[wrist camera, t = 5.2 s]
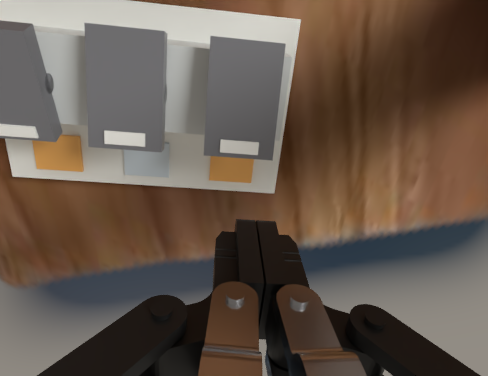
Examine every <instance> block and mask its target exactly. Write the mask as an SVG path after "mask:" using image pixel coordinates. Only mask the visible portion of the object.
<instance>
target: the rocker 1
mask: <svg viewBox="0 0 488 376" xmlns="http://www.w3.org/2000/svg"><path fill="white" fill-rule="evenodd" d="M53 88H54V82H53V78H52V76H51V74H49V73H46V70H45V66H44V63H43V59H42V55H41V52H40V48H39V44H38V41H37V37H36V34H35V30H34V26H33V24H31V23H21V22H11V21H2V20H0V138H7V139H20V140H34V141H47V142H57V140H58V138H59V137H60V135H61V134H62V132H63V131H62V128H61V124H60V121H59V117H58V113H57V110H56V106H55V102H54V99H53V95H52V91H53Z"/></svg>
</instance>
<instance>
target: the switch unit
mask: <svg viewBox="0 0 488 376" xmlns="http://www.w3.org/2000/svg"><path fill="white" fill-rule="evenodd" d="M0 20H2V21H11V22H21V23H31V24H33V26H34V30H35V34H36V37H37V41H38V44H39V48H40V52H41V55H42V59H43V63H44V66H45V70H46V73H49V74H51V76H52V78H53V82H54V88H53V91H52V95H53V99H54V102H55V106H56V110H57V113H58V117H59V121H60V124H61V128H62V131H63V132H62V134H61V135H60V137H59V138H58V140H57V142H47V141H34V140H20V139H7V138H5V141H6V146H7V151H8V156H9V161H10V166H11V171H12V176H13V177H27V178H42V179H58V180H73V181H89V182H104V183H119V184H135V185H150V186H166V187H181V188H197V189H212V190H228V191H243V192H259V193H274V192H275V186H276V179H277V173H278V166H279V160H280V153H281V147H282V140H283V134H284V127H285V121H286V114H287V108H288V101H289V95H290V88H291V82H292V75H293V68H294V62H295V55H296V49H297V42H298V36H299V29H300V23H301V20H300V19H291V18H282V17H273V16H264V15H255V14H246V13H237V12H228V11H219V10H210V9H201V8H192V7H183V6H174V5H165V4H156V3H147V2H138V1H129V0H0ZM84 23H92V24H102V25H112V26H121V27H131V28H140V29H150V30H160V31H165V32H166V33H167V69H166V84H167V101H166V106H165V143H164V150H163V151H162V152H149V151H136V150H122V149H108V148H95V147H88V118H87V87H86V57H85V26H84ZM210 36H217V37H227V38H236V39H246V40H256V41H265V42H275V43H284V44H286V46H285V55H284V64H283V72H282V81H281V90H280V99H279V108H278V117H277V126H276V134H275V143H274V152H273V161H272V160H258V159H245V158H231V157H218V156H204V139H205V122H206V104H207V87H208V70H209V53H210Z"/></svg>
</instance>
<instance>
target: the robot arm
mask: <svg viewBox="0 0 488 376" xmlns="http://www.w3.org/2000/svg"><path fill="white" fill-rule="evenodd" d="M259 339H266V344H267V350H266V355H265V365H266V370H267V375H268V376H384V375H382V374H383V372H384V369H385V370H387V371H388V372H389V373H391V374H392V375H393V376H480V375H479V374H477V373H475V372H474V371H473V370H471V369H470V368H468V367H467V366H465V365H464V364H463V363H461V362H460V361H458V360H457V359H455V358H454V357H452V356H451V355H449V354H448V353H446V352H445V351H443V350H442V349H441V348H439V347H438V346H436V345H435V344H433V343H432V342H430V341H429V340H427V339H426V338H424V337H423V336H421V335H420V334H418V333H417V332H415V331H414V330H412V329H411V328H410V327H408V326H407V325H405V324H404V323H402V322H401V321H399V320H398V319H396V318H395V317H394V316H392V315H391V314H389V313H388V312H386V311H385V310H383V309H381V308H379V307H376V306H373V305H368V304H363V305H357V306H355V307H354V308H353V309H352V310H351V312H350V314H348V313H345V312H342V311H338V310H335V309H332V308H329V307H327V306H325V305H323V304H322V301H321V299H320V297H319V296H318V294H316V293H315V292H314V291H313V290H311V289H310V288H309V284H308V281H307V278H306V274H305V271H304V268H303V265H302V262H301V258H300V255H299V251H298V248H297V245H296V243H295V242H294V241H293V240H292V239H291V237H290V236H289V235H279V234H278V230H277V226H276V222H275V221H259V220H256V222H255V220H241V219H236V223H235V232H224V231H222V232H221V233H220V235H219V236H218V237H217V238H216V246H215V258H214V271H213V291H212V293H211V294H210V296H208V297H207V298H206V299H204V300H203V301H201V302H198V303H194V304H190V305H185V304H184V303H183V301H181V300H180V299H178V298H177V297H174V296H170V295H158V296H154V297H151V298H149V299H147V300H145V301H144V302H142V303H141V304H139V305H138V306H137V307H135V308H134V309H132V310H131V311H129V312H128V313H127V314H125V315H124V316H122V317H121V318H119V319H118V320H116V321H115V322H114V323H112V324H111V325H109V326H108V327H106V328H105V329H103V330H102V331H101V332H99V333H98V334H96V335H95V336H94V337H92V338H91V339H89V340H88V341H86V342H85V343H83V344H82V345H80V346H79V347H78V348H76V349H75V350H73V351H72V352H70V353H69V354H68V355H66V356H65V357H63V358H62V359H61V360H59V361H57V362H56V363H55V364H53V365H52V366H50V367H49V368H48V369H46V370H45V371H43V372H42V373H40V374H39V375H37V376H262V354H261V352H259Z"/></svg>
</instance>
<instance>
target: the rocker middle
mask: <svg viewBox="0 0 488 376" xmlns="http://www.w3.org/2000/svg"><path fill="white" fill-rule="evenodd" d="M84 26H85V57H86V87H87V118H88V147H95V148H108V149H122V150H136V151H149V152H162V151H163V150H164V143H165V106H166V101H167V84H166V69H167V33H166V32H165V31H160V30H150V29H140V28H131V27H121V26H112V25H102V24H92V23H84Z"/></svg>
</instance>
